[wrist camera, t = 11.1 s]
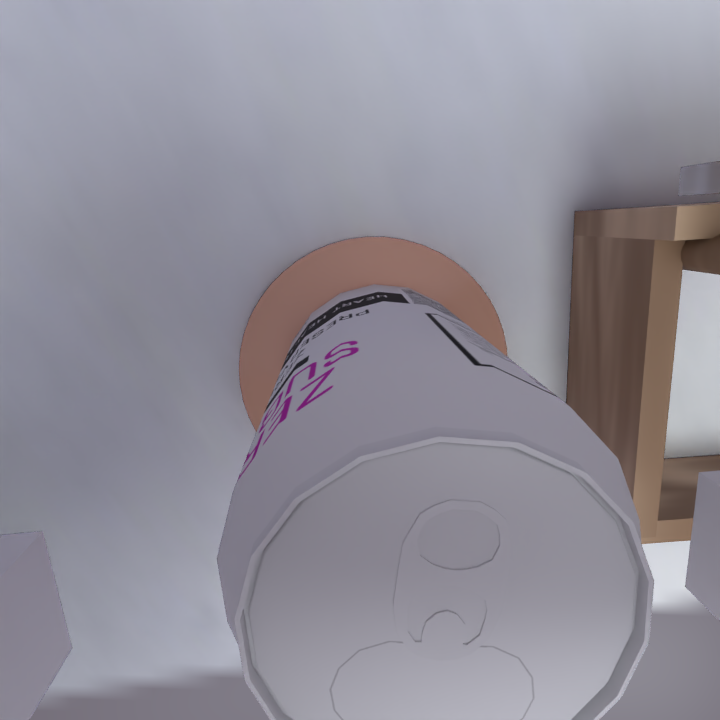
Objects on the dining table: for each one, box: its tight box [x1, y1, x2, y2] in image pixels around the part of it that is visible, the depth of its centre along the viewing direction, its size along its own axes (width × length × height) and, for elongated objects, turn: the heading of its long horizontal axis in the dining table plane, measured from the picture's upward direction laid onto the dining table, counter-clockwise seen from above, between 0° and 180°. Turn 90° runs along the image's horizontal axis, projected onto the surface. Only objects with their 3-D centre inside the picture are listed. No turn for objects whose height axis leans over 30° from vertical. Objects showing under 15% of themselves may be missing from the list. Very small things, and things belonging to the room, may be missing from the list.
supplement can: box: [217, 284, 654, 720], centre depth 16 cm, size 8×8×15 cm
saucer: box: [239, 237, 507, 432], centre depth 23 cm, size 12×12×1 cm
